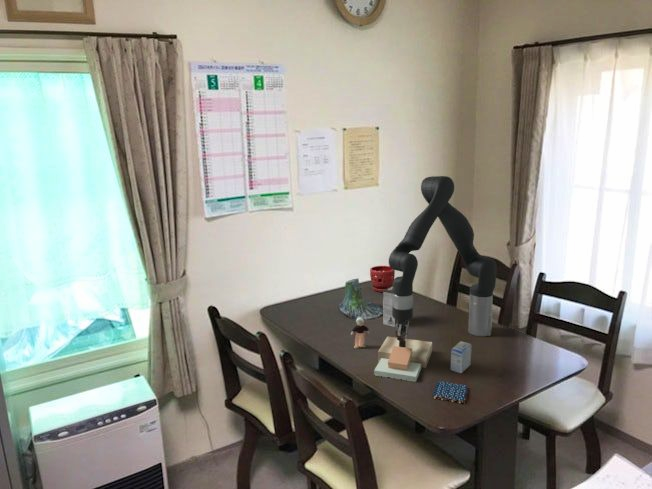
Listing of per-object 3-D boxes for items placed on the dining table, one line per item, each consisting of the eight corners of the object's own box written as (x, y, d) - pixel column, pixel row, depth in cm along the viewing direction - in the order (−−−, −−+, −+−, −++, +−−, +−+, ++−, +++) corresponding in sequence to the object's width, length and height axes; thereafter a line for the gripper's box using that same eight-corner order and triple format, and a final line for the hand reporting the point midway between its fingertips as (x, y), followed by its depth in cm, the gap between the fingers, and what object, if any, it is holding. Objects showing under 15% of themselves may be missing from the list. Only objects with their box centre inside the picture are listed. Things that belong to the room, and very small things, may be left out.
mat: (421, 368, 181) (421, 363, 180) (415, 381, 172) (415, 376, 171) (381, 362, 186) (381, 358, 186) (374, 375, 177) (374, 370, 177)
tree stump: (371, 324, 223) (361, 285, 220) (334, 326, 235) (324, 289, 233) (390, 308, 238) (381, 272, 235) (354, 311, 250) (345, 276, 248)
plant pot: (399, 290, 265) (399, 268, 262) (379, 295, 259) (379, 273, 256) (385, 284, 276) (384, 263, 273) (365, 288, 270) (365, 267, 267)
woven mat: (465, 406, 157) (465, 400, 157) (431, 400, 161) (432, 394, 161) (469, 390, 167) (469, 384, 166) (437, 384, 171) (437, 379, 170)
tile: (412, 353, 183) (412, 348, 182) (407, 370, 176) (407, 365, 175) (393, 351, 186) (393, 346, 185) (388, 367, 179) (387, 362, 177)
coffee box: (392, 317, 229) (392, 284, 225) (405, 320, 225) (405, 287, 221) (382, 324, 222) (382, 290, 218) (395, 327, 218) (395, 292, 214)
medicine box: (459, 362, 185) (460, 340, 183) (470, 365, 182) (471, 343, 180) (450, 370, 179) (450, 348, 177) (461, 374, 176) (462, 351, 174)
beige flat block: (432, 351, 194) (432, 342, 193) (425, 368, 181) (425, 358, 180) (387, 345, 200) (387, 336, 199) (378, 361, 188) (378, 351, 187)
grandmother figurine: (353, 350, 198) (352, 320, 195) (350, 346, 201) (349, 316, 198) (371, 347, 200) (371, 317, 196) (368, 343, 203) (367, 314, 200)
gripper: (409, 312, 174) (408, 357, 178) (416, 300, 186) (415, 342, 190) (388, 310, 177) (388, 354, 181) (396, 298, 188) (396, 340, 193)
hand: (402, 348), depth 185 cm, fingers closed
